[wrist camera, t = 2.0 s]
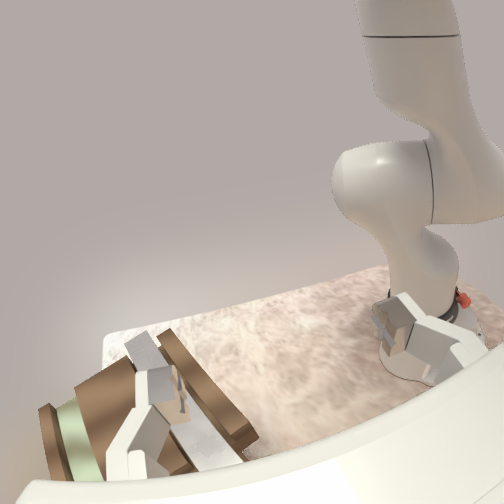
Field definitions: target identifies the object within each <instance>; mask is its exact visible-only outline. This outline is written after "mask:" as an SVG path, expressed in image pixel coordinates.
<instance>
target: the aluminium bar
mask: <svg viewBox="0 0 504 504" xmlns="http://www.w3.org/2000/svg"><path fill="white" fill-rule="evenodd" d="M125 346H126V348H127V350H128V352H129V355H130V357H131V359H132V361H133V362H134V364H135V366H136V368H137V370H138V371H144V370H149V369H154V368H160V367H165V366H170V365H169V364H168V363H167V361H166V360H165V358H164V357H163V355H162V354H161V352H160V351H159V349H158V347H157V346H156V344H155V343H154V341H153V340H152V338H151V337H150V335H149V334H148V332H147V331H144V332H143V333H141V334H139V335H138V336H136V337H135V338H133V339H131V340H130V341H128V342H127V343H125ZM185 389H186V388H185ZM186 393H187V399H186V401H185V402H186V404H187V405H188V407H189V413H190V419H191V421H190V422H186V423H181V424H176V425H172V426H171V430H172V431H173V433H174V435H175V436H176V438H177V439H178V441H179V442H180V444H181V445H182V447H183V449H184V450H185V452H186V453H187V455H188V456H189V457H190V459H191V460H192V462H193V463H194V465H195V466H196V468H197V469H198V470H199V472H200V471H206V470H211V469H216V468H221V467H226V466H230V465H235V464H239V463H243V462H244V461H243V460H242V459H241V458H240V457H239V456H238V455H237V453H236V452H235V451H234V450H233V449H232V447H231V446H230V445H229V444H228V443H227V441H226V440H225V439H224V438H223V437H222V435H221V434H220V433H219V432H218V430H217V429H216V428H215V427H214V425H213V424H212V423H211V422H210V420H209V419H208V418H207V416H206V415H205V414H204V413H203V411H202V410H201V409H200V407H199V406H198V405H197V403H196V402H195V401H194V399H193V398H192V397H191V395H190V394H189V392H188V391H187V390H186Z"/></svg>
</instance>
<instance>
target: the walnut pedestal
mask: <svg viewBox="0 0 504 504" xmlns="http://www.w3.org/2000/svg"><path fill="white" fill-rule="evenodd" d="M156 337H157V338H158V340H159V341H160V343H161V346H160V347H158V349H159V351H160V352H161V354H162V355H163V357H164V358H165V360H166V361H167V363H168V364H169V365H174V366H175V368H176V369H177V375H179V376H181V378H182V380H183V382H184V385H185V388H186V390H187V391H188V392H189V394H190V395H191V397H192V398H193V399H194V401H195V402H196V403H197V405H198V406H199V407H200V409H201V410H202V411H203V413H204V414H205V415H206V416H207V418H208V419H209V420H210V422H211V423H212V424H213V425H214V427H215V428H216V429H217V430H218V432H219V433H220V434H221V435H222V437H223V438H224V439H225V440H226V441H227V443H228V444H229V445H230V446H231V447H232V449H233V450H234V451H235V452H236V453H237V455H238V456H239V457H240V458H241V459H242V460H243V461H244V462H247V461H249V460H248V459H247V458H246V457H245V456H244V455H243V453H242V452H241V451H242V450H244V449H245V448H246V447H248V446H249V445H250V444H252V443H253V442H255V441H256V440H257V439H259V436H258V434H257V433H256V431H255V430H254V428H253V427H252V425H251V423H250V422H249V421H248V420H247V418H246V417H245V416H244V415H243V414H242V413H241V412H240V411H239V410H238V409H237V408H236V407H235V405H234V404H233V403H232V402H231V401H230V400H229V399H228V398H227V397H226V395H225V394H224V393H223V392H222V391H221V390H220V389H219V387H218V386H217V385H216V384H215V383H214V382H213V380H212V379H211V378H210V377H209V376H208V375H207V373H206V372H205V371H204V370H203V369H202V367H201V366H200V365H199V364H198V363H197V361H196V360H195V359H194V358H193V357H192V355H191V354H190V353H189V352H188V350H187V349H186V348H185V347H184V345H183V344H182V343H181V342H180V340H179V339H178V338H177V336H176V335H175V334H174V333H173V331H172V330H171V329H170V328H169V329H167V330H166V331H164V332H163V333H161V334H160V335H158V336H156ZM136 372H138V370H137V368H136V366H135V364H134V363H132V362H131V361H130V359H129V358H128V357H127V355H126V356H125V357H123V358H121V359H120V360H118V361H117V362H115V363H113V364H112V365H110V366H109V367H107V368H105V369H104V370H102V371H101V372H99V373H97V374H96V375H94V376H92V377H91V378H89V379H88V380H86V381H84V382H83V383H81V384H79V385H78V386H76V387H74V388H75V393H76V397H75V398H73V399H72V400H70V401H68V402H67V403H65V404H63V405H62V406H60V407H58V408H57V409H55V408H54V407H53V406H52V405H51V404H50V403H48V404H46V405H45V406H43V407H41V408H40V409H38V411H39V418H40V426H41V432H42V438H43V443H44V449H45V454H46V459H47V463H48V468H49V472H50V475H51V480H54V481H84V482H92V481H107V476H106V451H107V449H108V448H109V446H110V444H111V443H112V441H113V439H114V438H115V436H116V434H117V433H118V431H119V429H120V428H121V426H122V424H123V423H124V421H125V419H126V418H127V416H128V414H129V413H130V411H131V409H132V408H136V404H135V375H136ZM157 463H159V464H160V465H161V466H163V467H164V468H165V469H167V470H168V471H169V475H170V476H175V475H182V474H188V473H194V472H199V470H198V469H197V468H196V466H195V465H194V463H193V462H192V460H191V459H190V457H189V456H188V455H187V453H186V452H185V450H184V449H183V447H182V445H181V444H180V442H179V441H178V439H177V438H176V436H175V435H174V433H173V431H172V430H171V428H170V431H169V433H168V435H167V438H166V440H165V443H164V445H163V447H162V450H161V452H160V455H159V457H158V459H157Z"/></svg>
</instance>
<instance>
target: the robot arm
mask: <svg viewBox="0 0 504 504" xmlns="http://www.w3.org/2000/svg"><path fill="white" fill-rule="evenodd" d="M355 6H356V11H357V15H358V21H359V25H360V28H361V33H362V37H363V41H364V45H365V49H366V53H367V58H368V62H369V67H370V72H371V76H372V81H373V87H374V91H375V93H376V96H377V97H378V99H379V100H380V102H381V103H382V104H383V105H384V106H385V107H386V108H387V109H388V110H390V111H391V112H393V113H394V114H396V115H398V116H400V117H401V118H404V119H406V120H408V121H411V122H413V123H416V124H418V125H420V126H422V127H423V128H425V129H426V130H428V131H429V132H430V136H429V138H428V139H425V140H422V141H396V142H378V143H372V144H368V145H364V146H361V147H357V148H354V149H351V150H348V151H345V152H343V153H342V154H341V156H340V157H339V159H338V160H337V162H336V164H335V166H334V169H333V173H332V180H331V186H332V193H333V196H334V200H335V202H336V204H337V206H338V208H339V209H340V211H341V212H342V214H343V215H344V216H345V217H346V218H347V219H349V220H350V221H351V222H353V223H355V224H357V225H359V226H360V227H362V228H363V229H365V230H366V231H367V232H369V233H370V234H371V235H372V236H373V237H374V238H375V239H376V240H377V242H378V243H379V244H380V245H381V247H382V248H383V250H384V252H385V254H386V257H387V259H388V264H389V272H390V289H389V292H388V299H385V300H383V301H380V302H378V303H375V304H374V305H373V308H372V311H373V313H374V315H373V316H372V317H371V321H370V325H371V330H372V332H373V334H374V336H375V337H376V339H378V340H381V342H380V346H379V356H380V359H381V362H382V363H383V365H384V366H385V368H386V369H387V370H388V371H390V372H391V373H392V374H394V375H396V376H398V377H400V378H403V379H408V380H416V381H420V382H422V383H424V384H426V385H428V386H434V387H432V388H431V389H429V390H427V391H425V392H423V393H422V394H420V395H418V396H416V397H414V398H412V399H411V400H409V401H407V402H405V403H403V404H401V405H399V406H397V407H395V408H393V409H391V410H389V411H387V412H385V413H382V414H380V415H378V416H376V417H374V418H372V419H369V420H367V421H365V422H363V423H360V424H358V425H356V426H353V427H351V428H348V429H346V430H343V431H341V432H338V433H336V434H333V435H331V436H328V437H325V438H322V439H320V440H317V441H314V442H311V443H308V444H305V445H302V446H299V447H296V448H293V449H290V450H287V451H284V452H280V453H277V454H273V455H270V456H266V457H263V458H259V459H255V460H251V461H247V462H243V463H239V464H235V465H230V466H226V467H221V468H216V469H211V470H206V471H200V472H194V473H188V474H182V475H175V476H170V475H169V471H168V470H167V469H165V468H164V467H163V466H161V465H160V464H159V463H157V459H158V457H159V455H160V452H161V450H162V447H163V445H164V443H165V440H166V438H167V435H168V433H169V431H170V428H171V426H172V425H176V424H181V423H186V422H190V421H191V419H190V413H189V407H188V405H187V404H186V402H185V401H186V399H187V393H186V389H185V385H184V382H183V380H182V378H181V376H179V375H177V369H176V368H175V366H174V365H170V366H165V367H160V368H154V369H149V370H144V371H138V372H136V375H135V404H136V408H132V409H131V411H130V413H129V414H128V416H127V418H126V419H125V421H124V423H123V424H122V426H121V428H120V429H119V431H118V433H117V434H116V436H115V438H114V439H113V441H112V443H111V444H110V446H109V448H108V449H107V451H106V476H107V481H92V482H84V481H54V480H41V479H38V480H33V481H31V482H30V483H29V484H28V485H27V487H26V488H25V489H24V491H23V492H22V493H21V495H20V497H19V498H18V499H17V501H16V503H15V504H504V341H502V342H501V343H500V344H498V345H497V346H496V347H494V348H493V349H491V350H490V351H489V350H488V349H487V348H486V346H485V337H484V334H483V331H482V329H481V327H480V326H479V324H478V320H477V317H476V315H475V313H474V312H473V310H472V309H471V307H470V306H469V305H470V303H471V299H470V298H469V297H467V296H466V294H465V293H462V294H461V293H460V292H459V291H458V288H457V286H456V282H457V276H458V269H459V261H458V256H457V254H456V252H455V250H454V248H453V247H452V246H451V245H450V244H449V243H448V242H447V241H446V240H445V239H443V238H442V237H441V236H439V235H437V234H435V233H433V232H431V231H429V230H427V229H426V228H425V227H424V226H427V225H430V224H475V223H479V222H484V221H488V220H492V219H495V218H499V217H502V216H504V153H503V152H502V151H501V150H500V149H499V148H498V147H497V146H496V145H495V144H494V143H493V142H492V141H491V140H490V139H489V138H488V136H487V135H486V134H485V132H484V131H483V129H482V127H481V126H480V124H479V122H478V120H477V117H476V115H475V112H474V110H473V107H472V103H471V100H470V94H469V88H468V83H467V76H466V69H465V63H464V56H463V49H462V43H461V36H460V31H459V26H458V21H457V17H456V13H455V10H454V6H453V2H452V0H355ZM478 335H479V336H478Z"/></svg>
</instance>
